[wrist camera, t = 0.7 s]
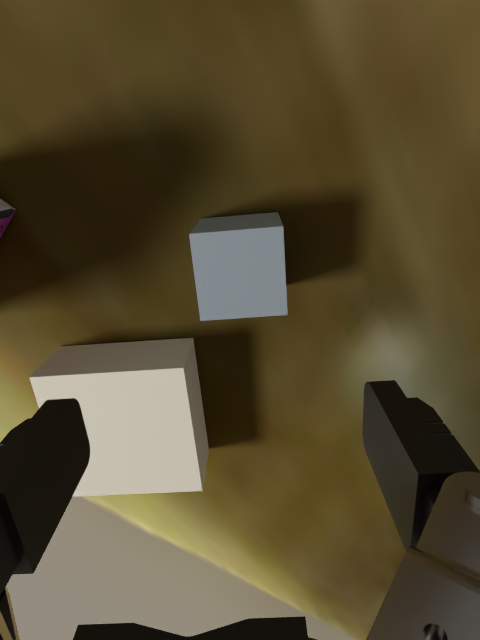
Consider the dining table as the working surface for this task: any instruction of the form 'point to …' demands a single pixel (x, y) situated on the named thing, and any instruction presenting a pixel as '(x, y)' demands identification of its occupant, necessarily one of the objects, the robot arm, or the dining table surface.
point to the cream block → (133, 413)
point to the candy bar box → (5, 215)
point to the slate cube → (239, 266)
